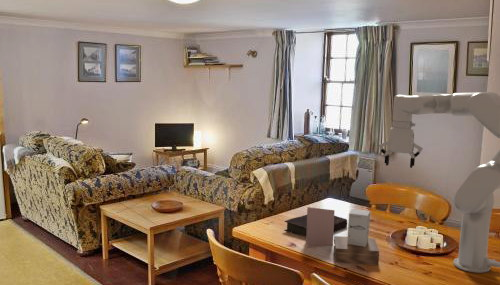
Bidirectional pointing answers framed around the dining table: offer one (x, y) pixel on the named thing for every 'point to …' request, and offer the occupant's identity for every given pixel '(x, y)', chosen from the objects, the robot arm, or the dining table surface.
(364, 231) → the supplement box
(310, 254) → the dining table surface
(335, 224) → the diary
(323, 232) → the greeting card
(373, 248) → the walnut box
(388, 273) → the dining table surface
